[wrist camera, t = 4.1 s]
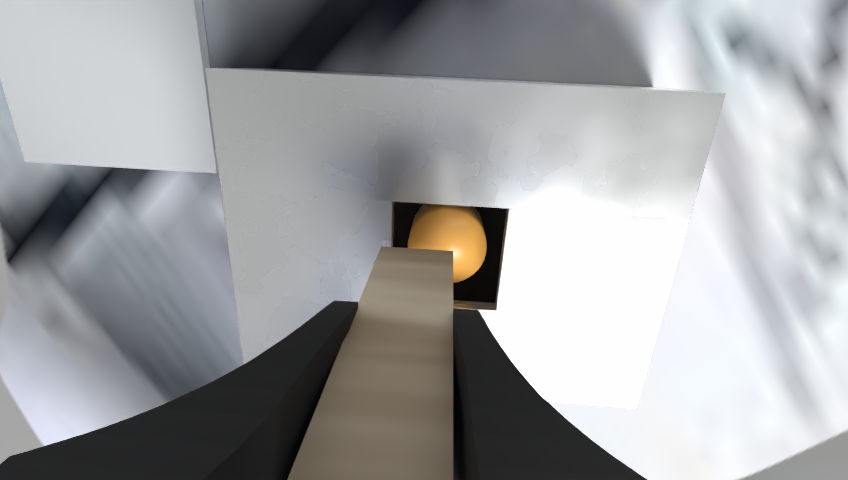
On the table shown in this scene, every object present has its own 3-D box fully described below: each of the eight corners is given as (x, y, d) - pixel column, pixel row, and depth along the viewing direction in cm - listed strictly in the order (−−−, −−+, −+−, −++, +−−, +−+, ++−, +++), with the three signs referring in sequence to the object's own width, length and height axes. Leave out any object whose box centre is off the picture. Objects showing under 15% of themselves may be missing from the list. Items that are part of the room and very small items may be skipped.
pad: (223, 170, 20) (216, 173, 20) (36, 159, 20) (24, 162, 20) (194, -60, 17) (185, -64, 16) (-28, -68, 17) (-44, -73, 17)
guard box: (597, 337, 22) (636, 408, 17) (287, 314, 23) (245, 377, 18) (653, 87, 18) (725, 93, 13) (267, 68, 18) (205, 67, 14)
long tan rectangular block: (448, 313, 15) (442, 612, 7) (380, 309, 15) (294, 598, 7) (453, 250, 14) (453, 506, 6) (381, 246, 14) (282, 492, 6)
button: (479, 264, 19) (482, 285, 17) (411, 259, 19) (406, 280, 17) (486, 197, 18) (490, 212, 16) (413, 193, 18) (408, 207, 16)
